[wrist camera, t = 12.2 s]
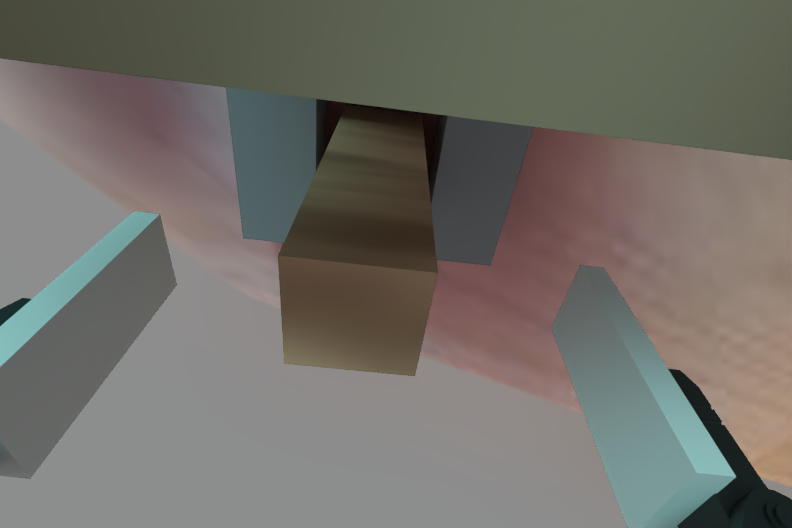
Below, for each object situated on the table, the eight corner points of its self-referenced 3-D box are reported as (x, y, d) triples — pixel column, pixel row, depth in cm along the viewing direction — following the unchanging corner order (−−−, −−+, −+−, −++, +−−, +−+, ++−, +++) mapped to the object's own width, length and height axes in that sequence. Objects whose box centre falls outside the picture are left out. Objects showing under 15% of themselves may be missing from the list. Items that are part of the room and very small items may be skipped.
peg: (411, 184, 24) (414, 376, 13) (342, 175, 24) (284, 363, 13) (421, 114, 22) (438, 273, 10) (346, 104, 22) (278, 255, 10)
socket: (559, -33, 18) (582, -34, 16) (482, 237, 26) (490, 265, 24) (234, -82, 17) (205, -90, 15) (258, 212, 25) (243, 238, 23)
